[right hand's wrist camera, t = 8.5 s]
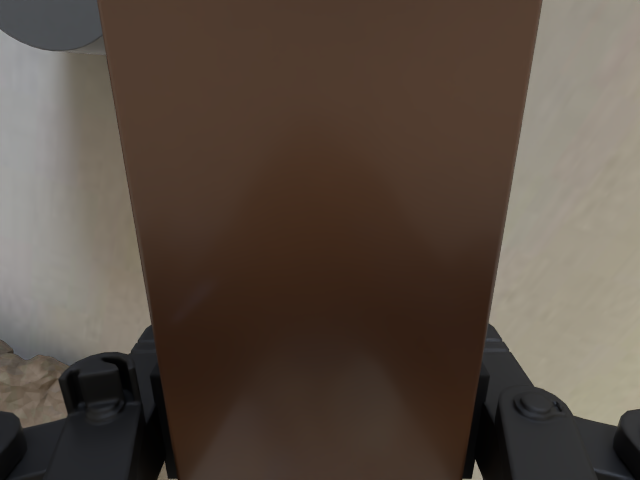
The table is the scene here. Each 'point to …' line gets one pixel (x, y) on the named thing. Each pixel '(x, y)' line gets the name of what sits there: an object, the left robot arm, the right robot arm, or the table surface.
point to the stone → (31, 387)
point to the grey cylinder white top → (54, 24)
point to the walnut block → (319, 222)
